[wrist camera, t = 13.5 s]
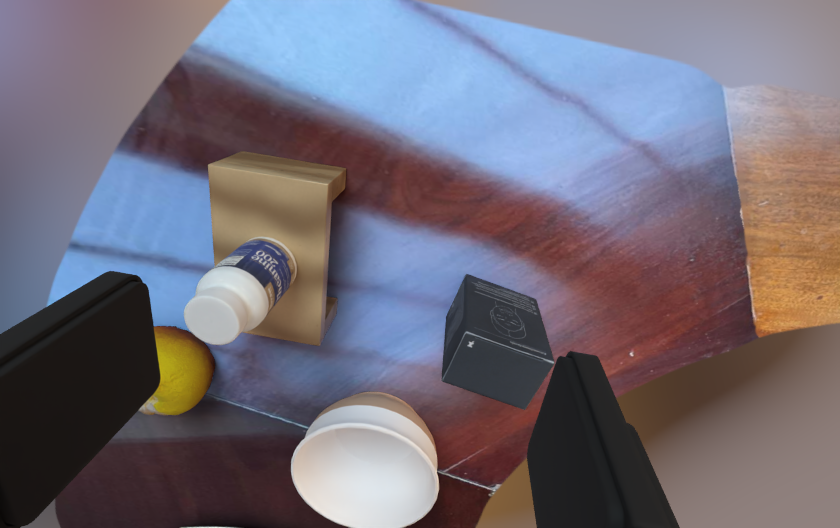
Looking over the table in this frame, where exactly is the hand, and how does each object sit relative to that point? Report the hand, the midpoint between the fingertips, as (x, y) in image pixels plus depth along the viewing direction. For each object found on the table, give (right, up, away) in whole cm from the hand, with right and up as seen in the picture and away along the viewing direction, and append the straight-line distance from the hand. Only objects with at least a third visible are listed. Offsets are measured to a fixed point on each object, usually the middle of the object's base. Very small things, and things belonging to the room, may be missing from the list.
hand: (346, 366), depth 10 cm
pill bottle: (-12, +2, +29) cm, 32 cm away
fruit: (-27, -9, +43) cm, 52 cm away
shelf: (-11, +5, +35) cm, 37 cm away
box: (+9, -2, +36) cm, 37 cm away
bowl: (-3, -17, +44) cm, 48 cm away
